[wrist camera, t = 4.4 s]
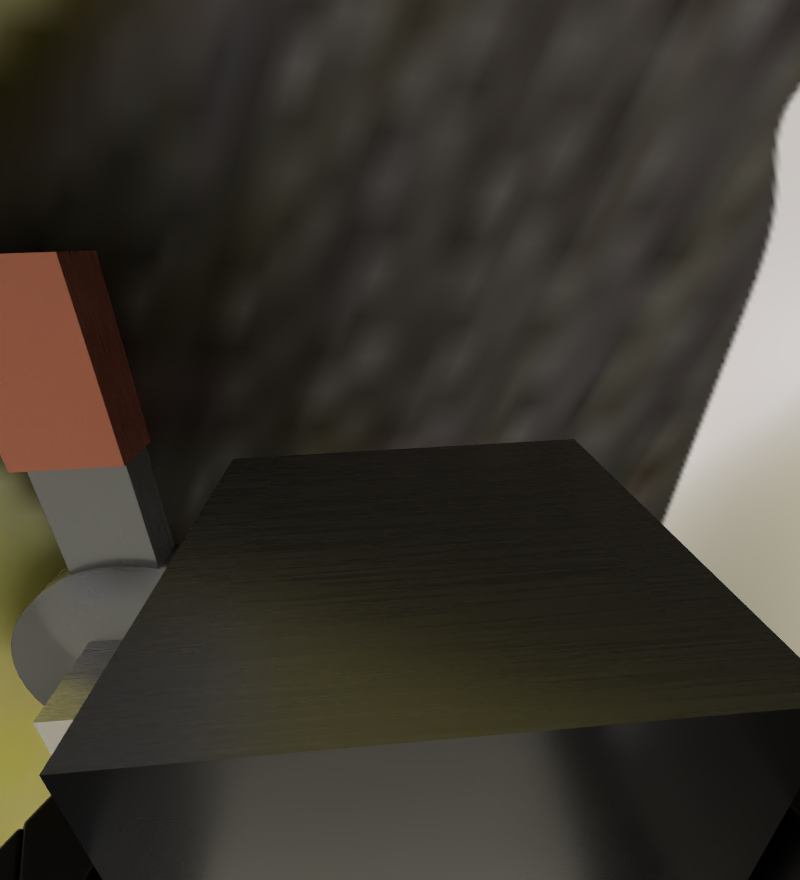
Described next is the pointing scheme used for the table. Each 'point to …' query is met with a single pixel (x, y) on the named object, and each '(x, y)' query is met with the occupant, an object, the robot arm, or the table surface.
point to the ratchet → (76, 474)
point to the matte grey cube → (433, 685)
